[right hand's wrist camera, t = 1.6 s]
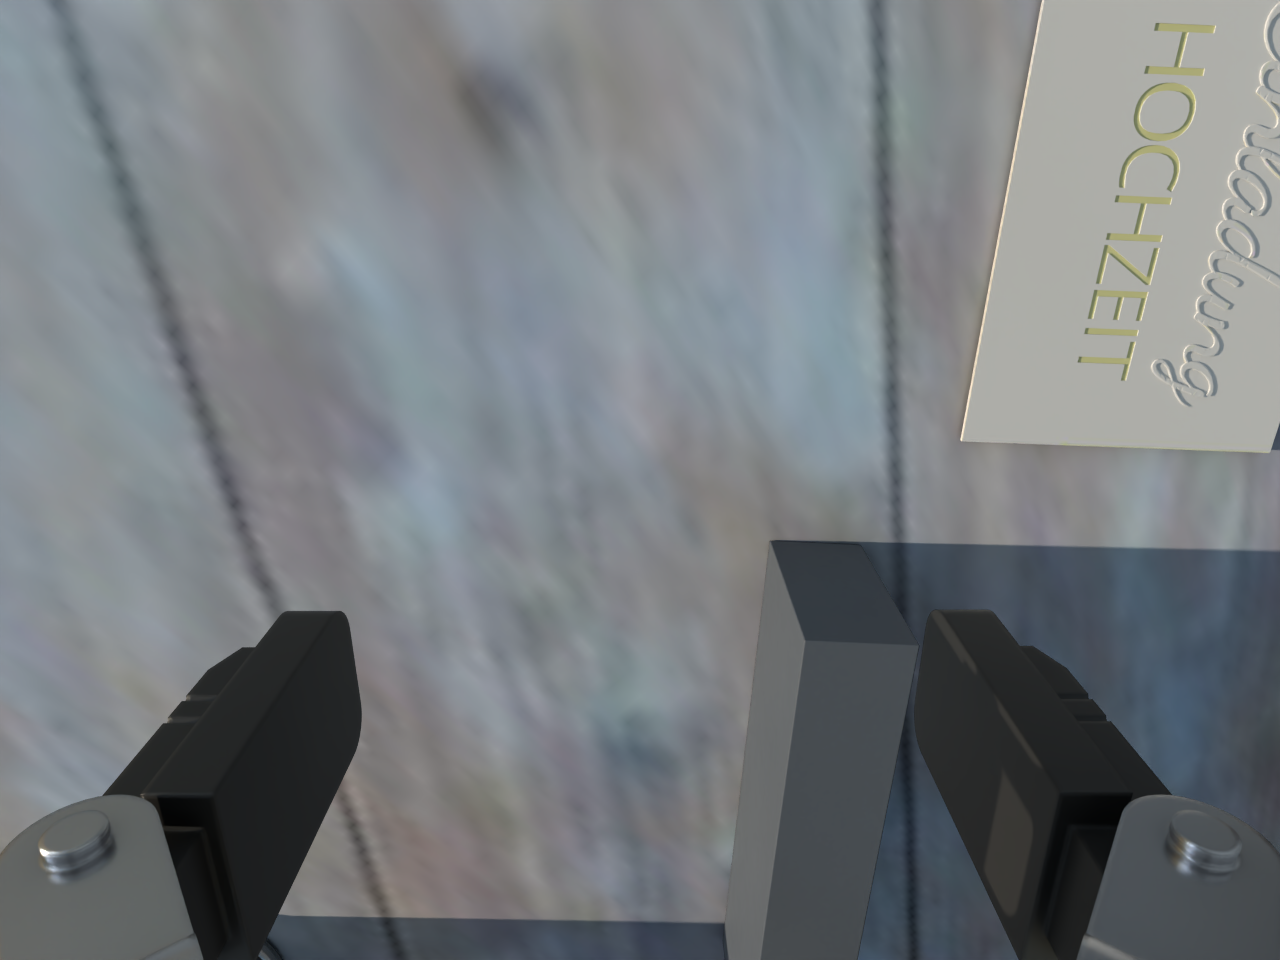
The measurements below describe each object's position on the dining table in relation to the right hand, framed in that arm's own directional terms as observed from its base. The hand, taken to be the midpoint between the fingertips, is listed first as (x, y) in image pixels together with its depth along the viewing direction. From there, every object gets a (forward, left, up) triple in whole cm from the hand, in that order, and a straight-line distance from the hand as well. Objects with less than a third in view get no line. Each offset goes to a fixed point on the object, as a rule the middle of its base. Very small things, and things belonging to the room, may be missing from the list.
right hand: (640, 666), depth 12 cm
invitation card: (-16, +17, -29) cm, 37 cm away
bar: (+17, +21, -29) cm, 39 cm away
